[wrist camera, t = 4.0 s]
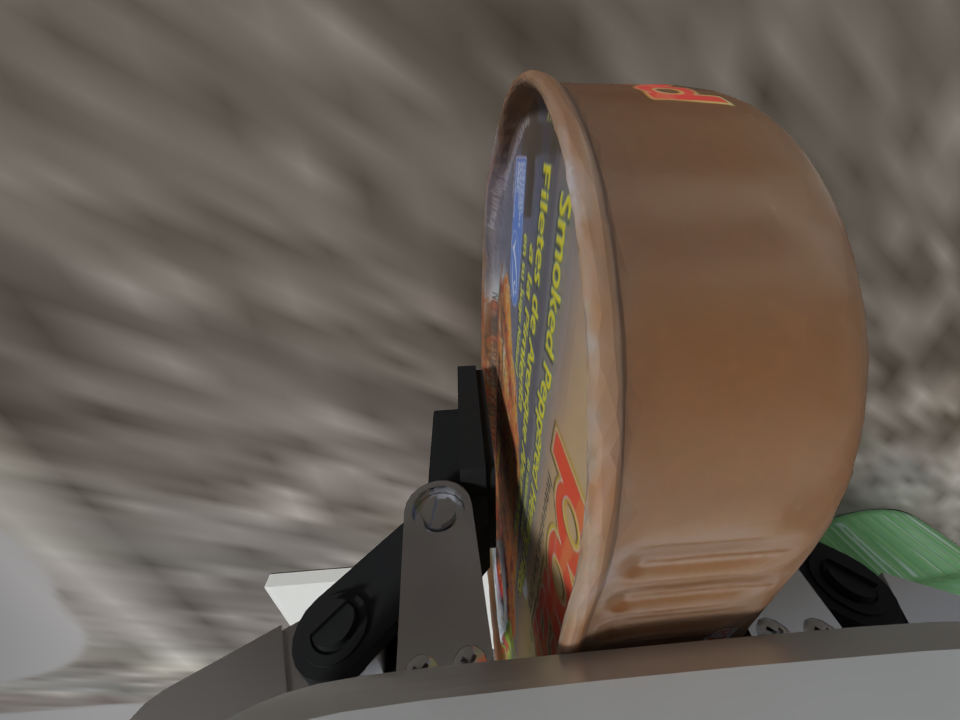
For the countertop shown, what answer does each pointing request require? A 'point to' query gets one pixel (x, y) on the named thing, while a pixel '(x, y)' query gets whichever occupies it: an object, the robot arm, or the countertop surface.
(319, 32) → the countertop surface
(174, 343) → the countertop surface
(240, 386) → the countertop surface
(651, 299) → the tin
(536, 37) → the countertop surface
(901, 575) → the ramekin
